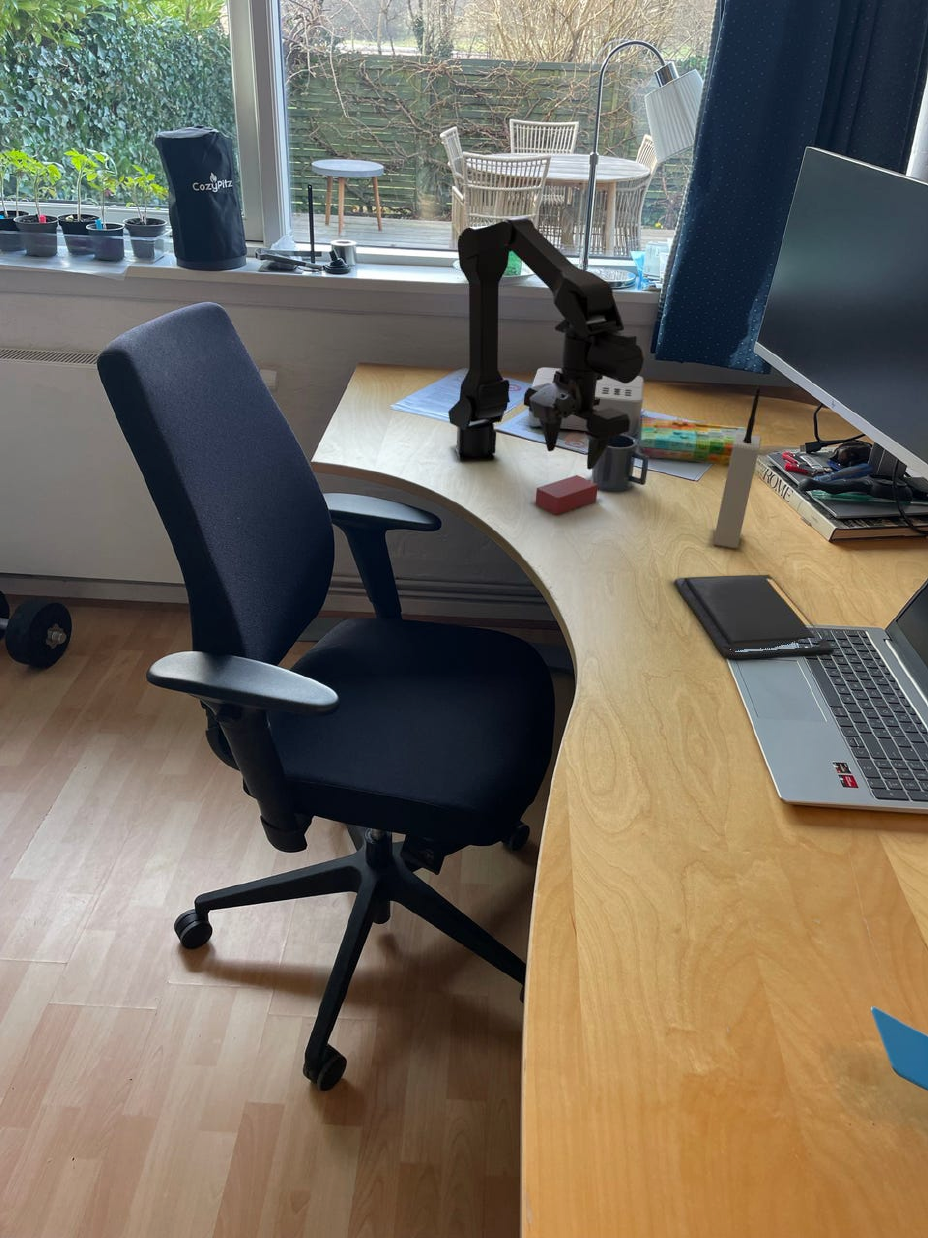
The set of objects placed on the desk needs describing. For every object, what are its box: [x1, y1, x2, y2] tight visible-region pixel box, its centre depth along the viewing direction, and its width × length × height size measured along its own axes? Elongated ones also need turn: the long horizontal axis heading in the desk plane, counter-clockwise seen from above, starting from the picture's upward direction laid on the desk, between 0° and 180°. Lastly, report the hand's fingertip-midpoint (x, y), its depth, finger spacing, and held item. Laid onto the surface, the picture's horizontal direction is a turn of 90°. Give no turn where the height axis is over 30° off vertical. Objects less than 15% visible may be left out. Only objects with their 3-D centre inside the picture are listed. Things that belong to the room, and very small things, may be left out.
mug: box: [590, 434, 650, 493], centre depth 160 cm, size 10×7×8 cm
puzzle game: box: [640, 416, 747, 465], centre depth 175 cm, size 12×5×20 cm
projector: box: [527, 367, 645, 438], centre depth 188 cm, size 17×22×8 cm
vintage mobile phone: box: [712, 386, 762, 550], centre depth 139 cm, size 4×5×25 cm
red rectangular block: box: [535, 474, 599, 516], centre depth 154 cm, size 10×5×3 cm, turn 129°
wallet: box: [673, 574, 834, 660], centre depth 126 cm, size 20×2×15 cm
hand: (570, 459), depth 151 cm, fingers open, 9 cm apart
